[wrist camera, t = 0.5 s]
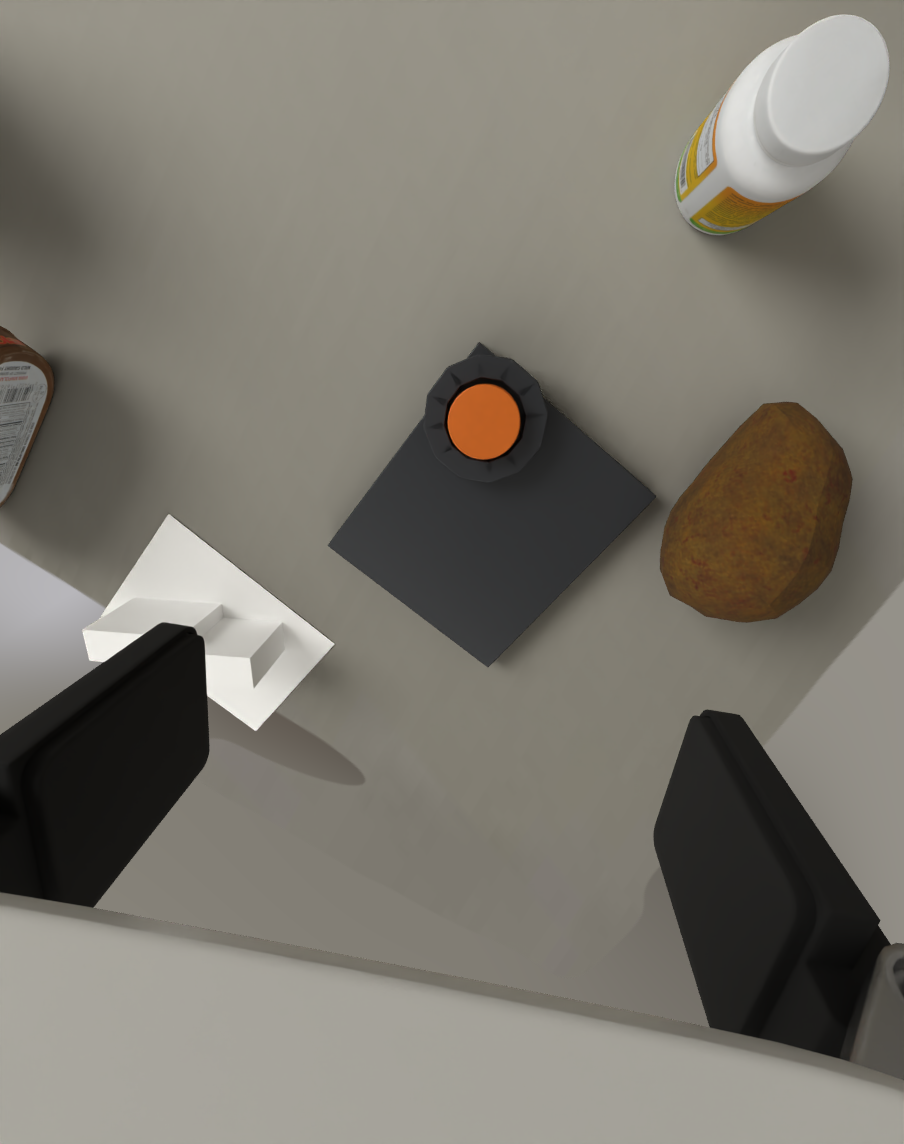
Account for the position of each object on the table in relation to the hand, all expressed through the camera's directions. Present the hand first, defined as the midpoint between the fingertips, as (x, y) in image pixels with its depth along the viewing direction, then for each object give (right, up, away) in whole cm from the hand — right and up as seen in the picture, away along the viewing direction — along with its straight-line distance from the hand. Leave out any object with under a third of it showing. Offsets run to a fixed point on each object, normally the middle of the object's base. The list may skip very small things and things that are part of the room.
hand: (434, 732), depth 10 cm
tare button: (+2, +12, +21) cm, 24 cm away
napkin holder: (-18, -1, +31) cm, 36 cm away
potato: (+18, +7, +24) cm, 31 cm away
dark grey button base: (+3, +7, +25) cm, 26 cm away
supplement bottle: (+15, +24, +18) cm, 33 cm away
